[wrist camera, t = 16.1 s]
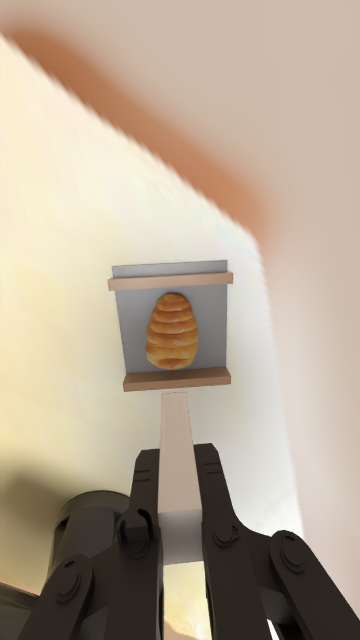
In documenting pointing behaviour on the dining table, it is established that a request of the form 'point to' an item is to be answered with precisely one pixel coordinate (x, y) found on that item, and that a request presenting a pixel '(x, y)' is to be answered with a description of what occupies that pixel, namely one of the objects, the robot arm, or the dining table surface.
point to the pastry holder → (208, 308)
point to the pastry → (172, 333)
